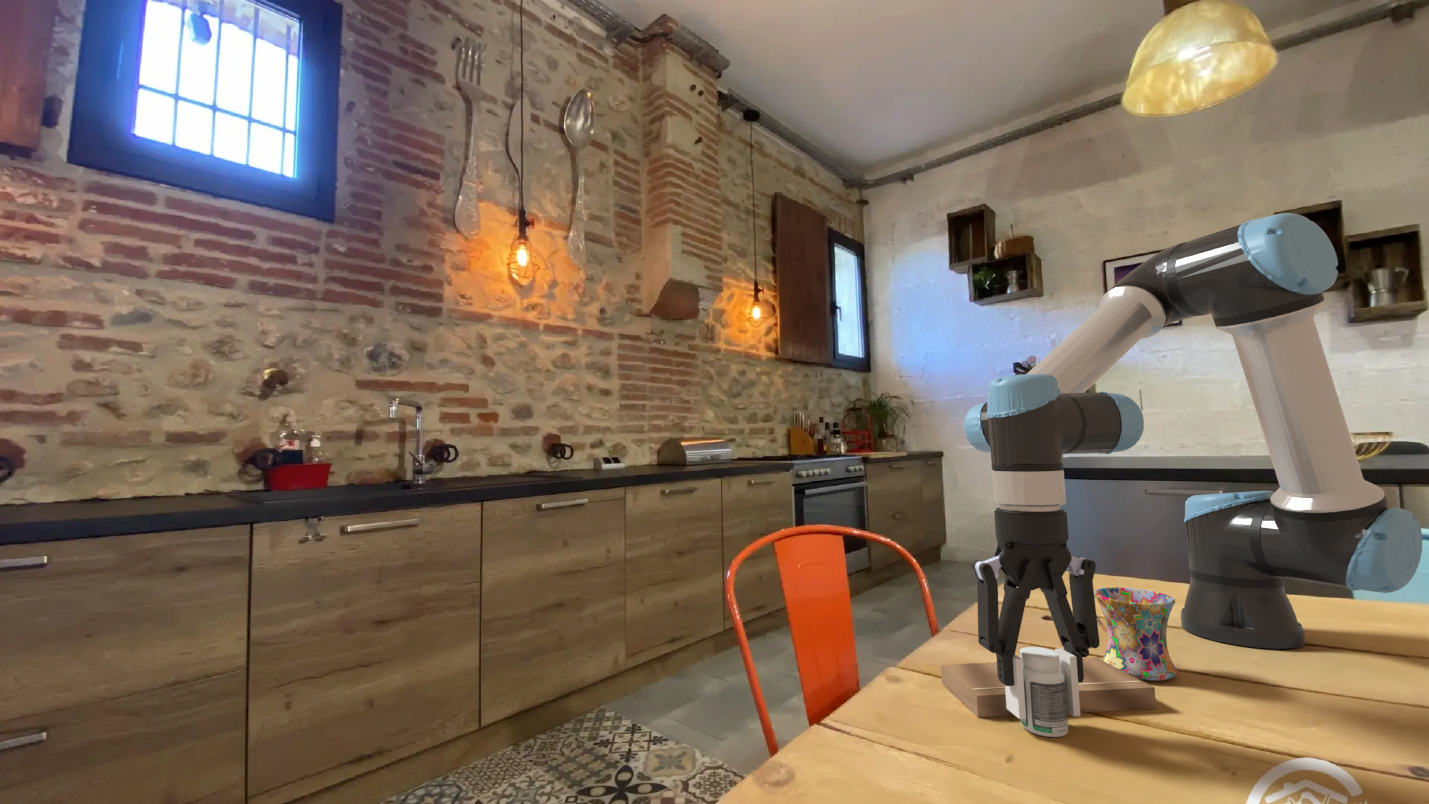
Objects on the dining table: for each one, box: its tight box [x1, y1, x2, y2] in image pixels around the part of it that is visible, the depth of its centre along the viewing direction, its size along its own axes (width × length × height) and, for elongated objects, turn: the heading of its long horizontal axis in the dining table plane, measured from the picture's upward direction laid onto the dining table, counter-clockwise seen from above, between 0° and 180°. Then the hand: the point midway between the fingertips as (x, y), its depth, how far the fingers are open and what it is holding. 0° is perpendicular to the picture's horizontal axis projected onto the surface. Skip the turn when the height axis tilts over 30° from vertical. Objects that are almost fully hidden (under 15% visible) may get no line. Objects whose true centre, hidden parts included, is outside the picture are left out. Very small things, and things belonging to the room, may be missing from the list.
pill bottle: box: [1019, 646, 1069, 738], centre depth 67 cm, size 5×5×8 cm
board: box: [940, 657, 1157, 718], centre depth 76 cm, size 22×10×3 cm, turn 93°
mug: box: [1094, 586, 1178, 681], centre depth 84 cm, size 12×9×11 cm
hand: (1042, 711), depth 67 cm, fingers open, 6 cm apart
